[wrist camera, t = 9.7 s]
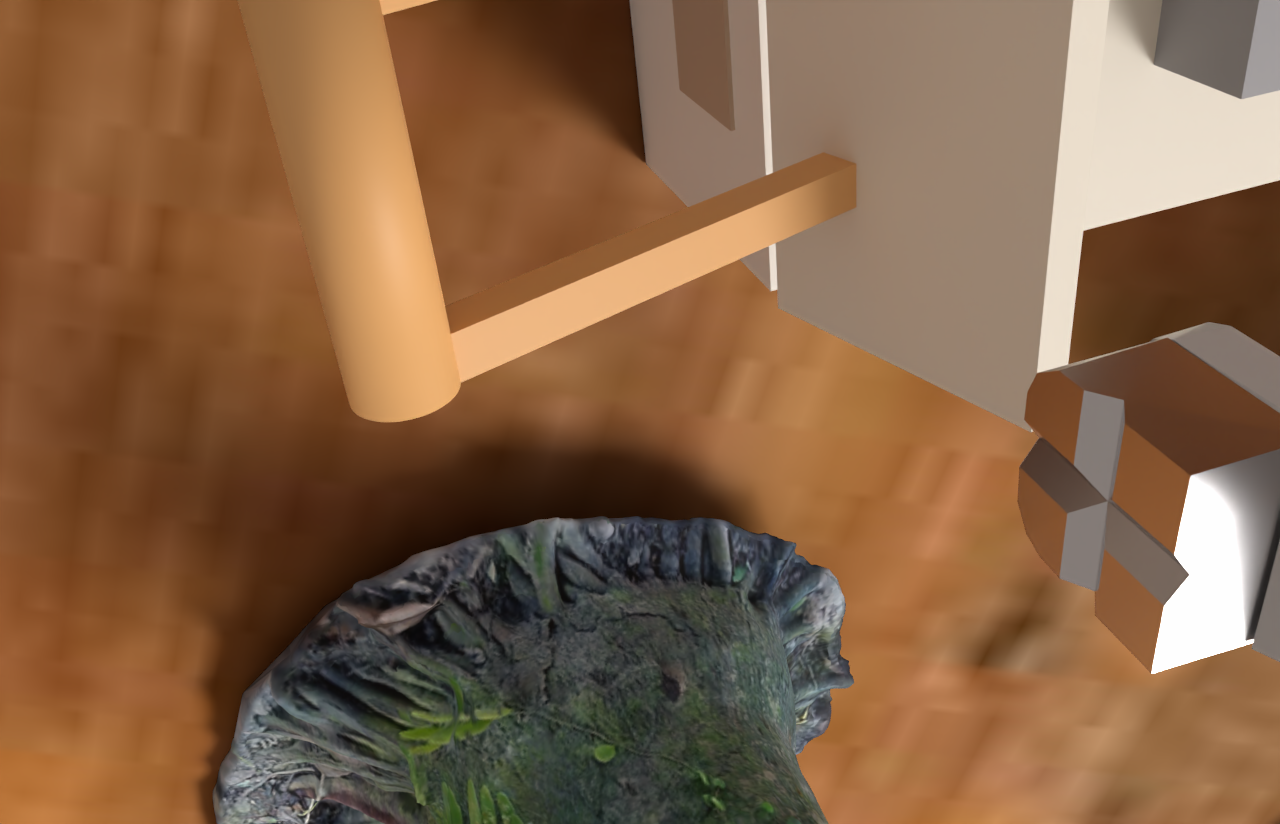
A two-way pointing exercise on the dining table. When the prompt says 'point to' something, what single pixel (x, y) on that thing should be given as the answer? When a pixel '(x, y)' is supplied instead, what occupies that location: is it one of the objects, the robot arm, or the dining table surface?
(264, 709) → the tree stump
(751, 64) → the carton
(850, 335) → the orange-handle flap
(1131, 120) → the grey-tab flap
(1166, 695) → the dining table surface
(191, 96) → the dining table surface
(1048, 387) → the robot arm
